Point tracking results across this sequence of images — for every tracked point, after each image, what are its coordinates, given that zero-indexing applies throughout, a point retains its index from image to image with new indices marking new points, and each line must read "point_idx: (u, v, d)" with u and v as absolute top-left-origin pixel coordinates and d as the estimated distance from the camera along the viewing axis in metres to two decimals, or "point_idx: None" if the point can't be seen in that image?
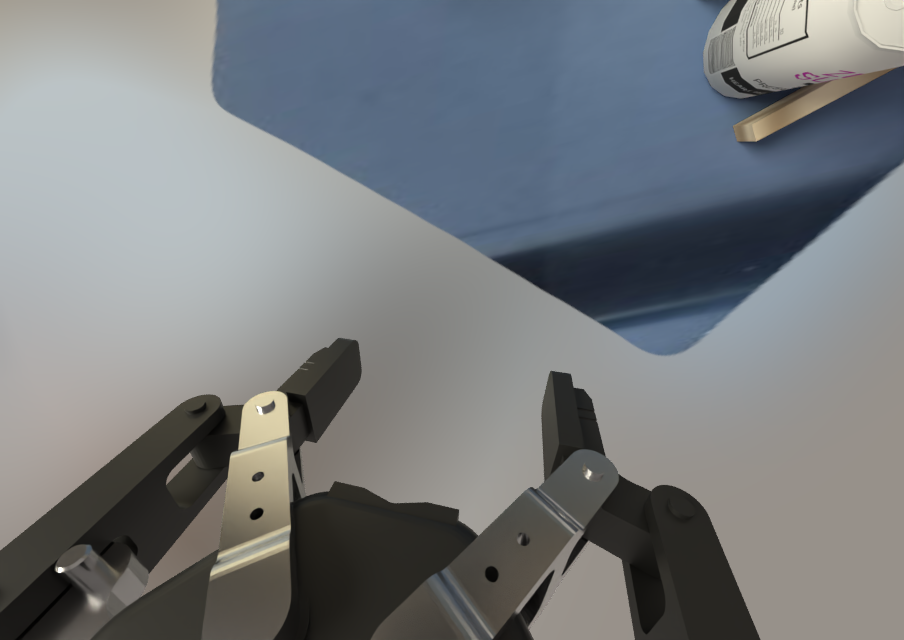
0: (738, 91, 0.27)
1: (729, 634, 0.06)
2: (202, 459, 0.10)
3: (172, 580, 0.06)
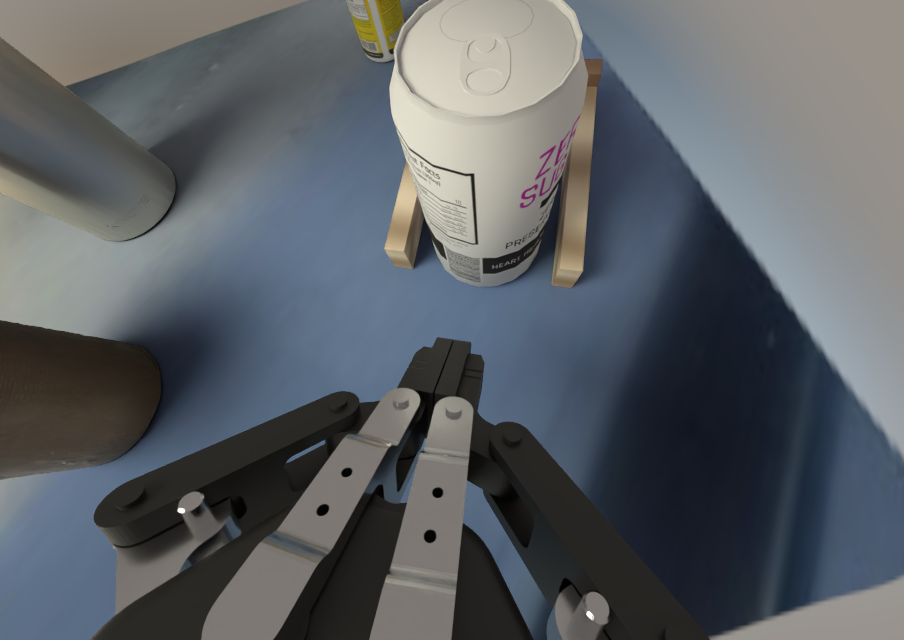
0: (513, 267, 0.22)
1: (573, 508, 0.07)
2: (329, 450, 0.10)
3: (173, 580, 0.06)
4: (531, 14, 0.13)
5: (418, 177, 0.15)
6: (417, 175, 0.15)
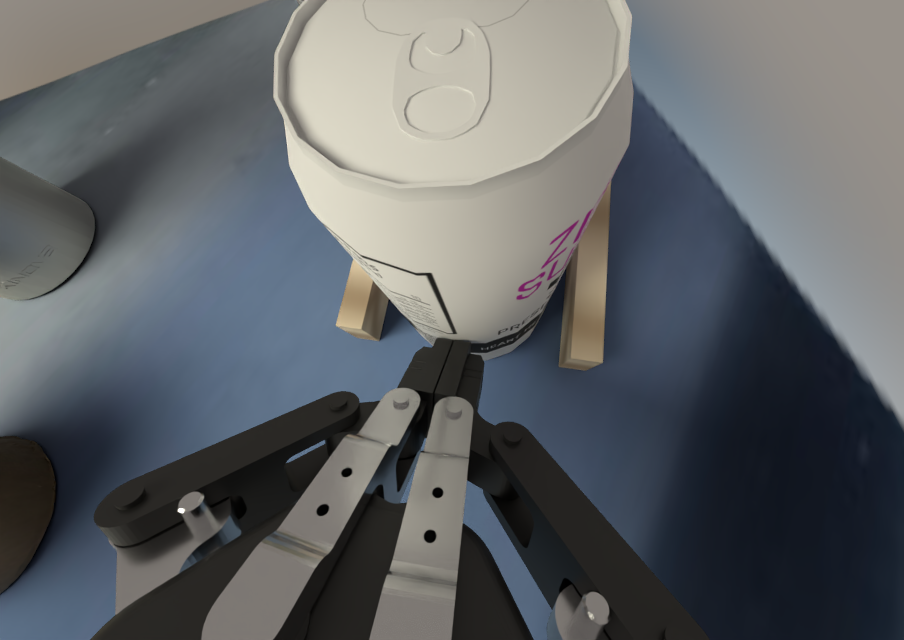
0: (511, 343, 0.16)
1: (572, 508, 0.07)
2: (329, 450, 0.10)
3: (172, 580, 0.06)
4: None
5: (352, 256, 0.10)
6: (350, 254, 0.10)
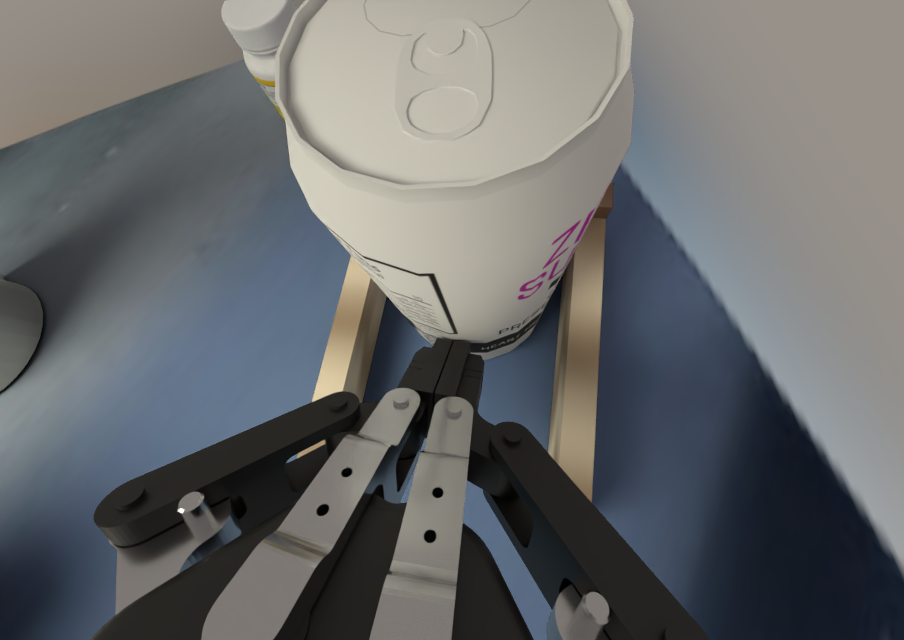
0: (511, 343, 0.16)
1: (572, 508, 0.07)
2: (329, 450, 0.10)
3: (172, 580, 0.06)
4: None
5: (353, 257, 0.10)
6: (351, 254, 0.10)
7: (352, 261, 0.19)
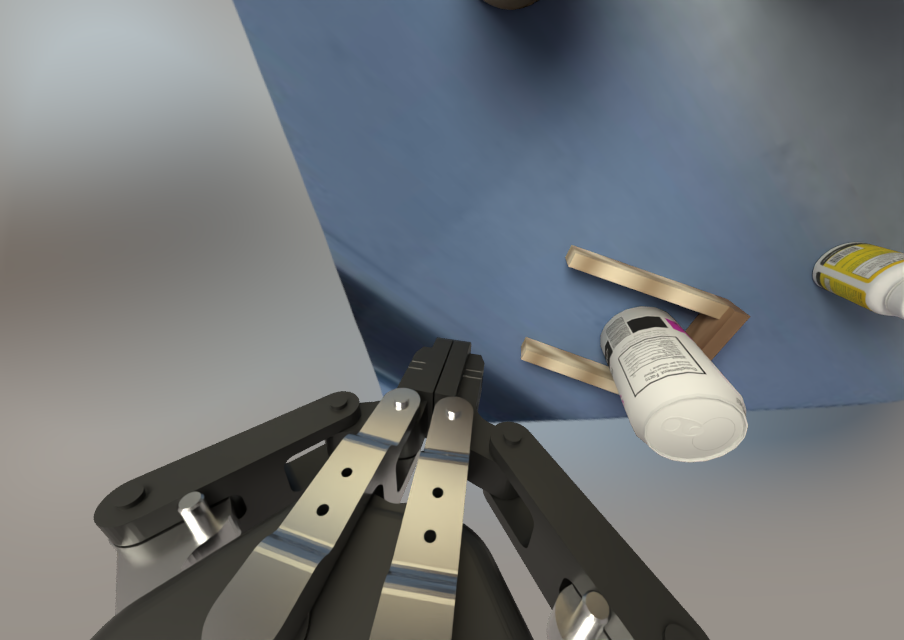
0: (605, 356, 0.37)
1: (572, 508, 0.07)
2: (329, 450, 0.10)
3: (173, 580, 0.06)
4: (702, 449, 0.26)
5: (659, 363, 0.28)
6: (660, 363, 0.27)
7: (688, 294, 0.32)
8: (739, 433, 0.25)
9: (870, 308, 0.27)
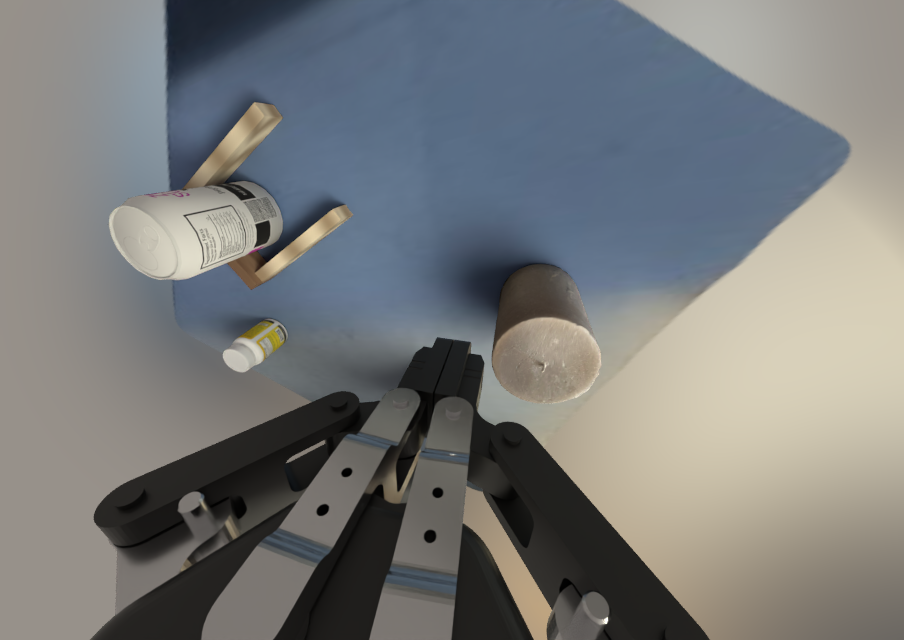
0: (239, 185, 0.38)
1: (573, 508, 0.07)
2: (329, 450, 0.10)
3: (173, 579, 0.06)
4: (124, 240, 0.31)
5: (216, 242, 0.33)
6: (216, 242, 0.33)
7: (279, 267, 0.43)
8: (142, 268, 0.32)
9: (239, 337, 0.47)
